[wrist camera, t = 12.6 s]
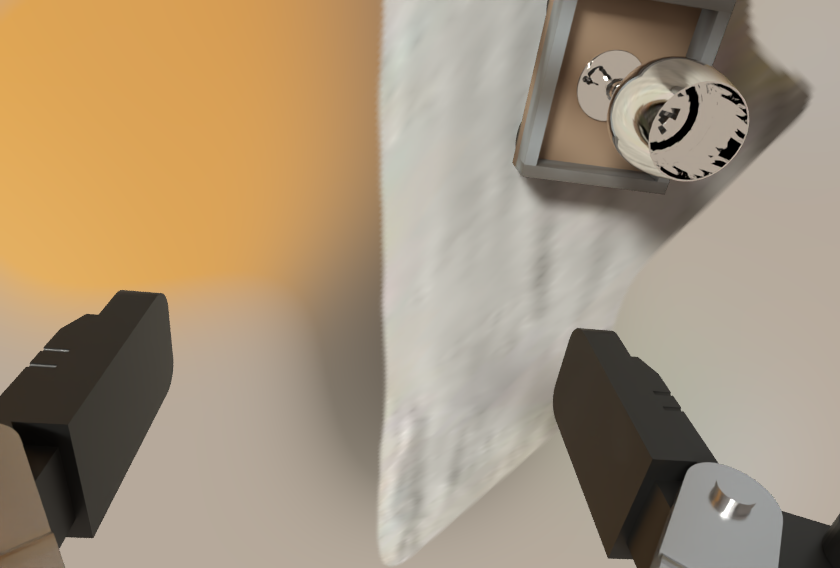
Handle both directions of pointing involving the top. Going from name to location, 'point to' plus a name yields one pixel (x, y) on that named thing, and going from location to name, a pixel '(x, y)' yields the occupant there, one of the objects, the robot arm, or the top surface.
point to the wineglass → (665, 113)
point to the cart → (566, 58)
